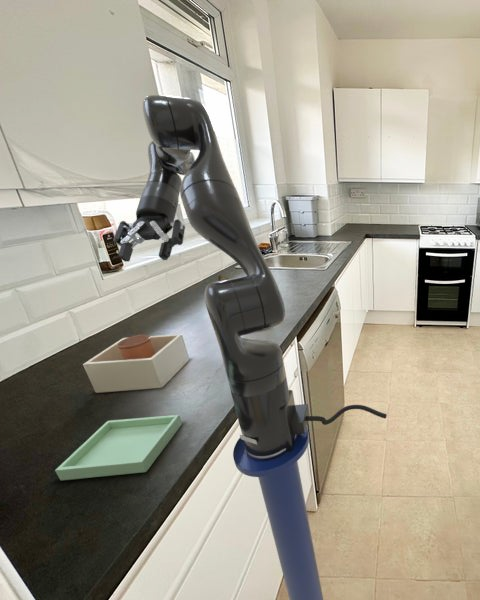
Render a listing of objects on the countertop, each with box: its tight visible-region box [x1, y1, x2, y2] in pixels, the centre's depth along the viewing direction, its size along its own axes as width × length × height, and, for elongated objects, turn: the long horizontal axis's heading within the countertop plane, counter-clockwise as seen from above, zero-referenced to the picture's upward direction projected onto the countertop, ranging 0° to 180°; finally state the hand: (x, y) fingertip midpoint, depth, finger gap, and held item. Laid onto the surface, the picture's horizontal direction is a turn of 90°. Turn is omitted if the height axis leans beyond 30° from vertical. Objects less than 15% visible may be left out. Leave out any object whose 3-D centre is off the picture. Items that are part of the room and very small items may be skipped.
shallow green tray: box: [54, 414, 183, 481], centre depth 56 cm, size 13×11×2 cm
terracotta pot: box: [117, 334, 155, 360], centre depth 77 cm, size 6×6×9 cm
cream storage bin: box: [82, 333, 190, 394], centre depth 78 cm, size 15×13×8 cm
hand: (143, 259), depth 73 cm, fingers open, 8 cm apart
